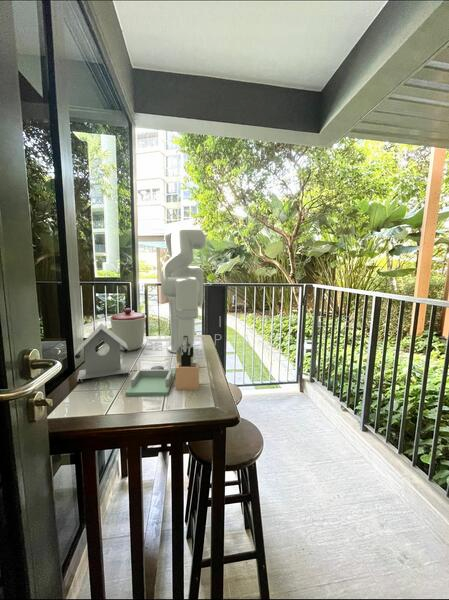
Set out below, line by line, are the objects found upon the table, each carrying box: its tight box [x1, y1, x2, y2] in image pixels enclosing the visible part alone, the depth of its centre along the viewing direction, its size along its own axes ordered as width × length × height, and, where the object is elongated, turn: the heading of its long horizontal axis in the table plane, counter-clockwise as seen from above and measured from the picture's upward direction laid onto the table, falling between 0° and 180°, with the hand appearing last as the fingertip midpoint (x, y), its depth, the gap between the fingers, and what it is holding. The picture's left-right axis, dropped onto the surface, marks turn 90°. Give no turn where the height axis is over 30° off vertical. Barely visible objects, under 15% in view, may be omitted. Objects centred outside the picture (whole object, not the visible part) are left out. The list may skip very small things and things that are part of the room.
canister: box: [108, 307, 147, 352], centre depth 140 cm, size 18×18×21 cm
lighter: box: [175, 346, 194, 364], centre depth 115 cm, size 7×4×10 cm, turn 110°
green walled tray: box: [125, 365, 175, 397], centre depth 101 cm, size 20×14×4 cm
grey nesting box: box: [74, 323, 130, 382], centre depth 106 cm, size 18×10×20 cm, turn 114°
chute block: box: [174, 362, 200, 391], centre depth 98 cm, size 5×8×8 cm, turn 92°
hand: (187, 361), depth 97 cm, fingers open, 9 cm apart
